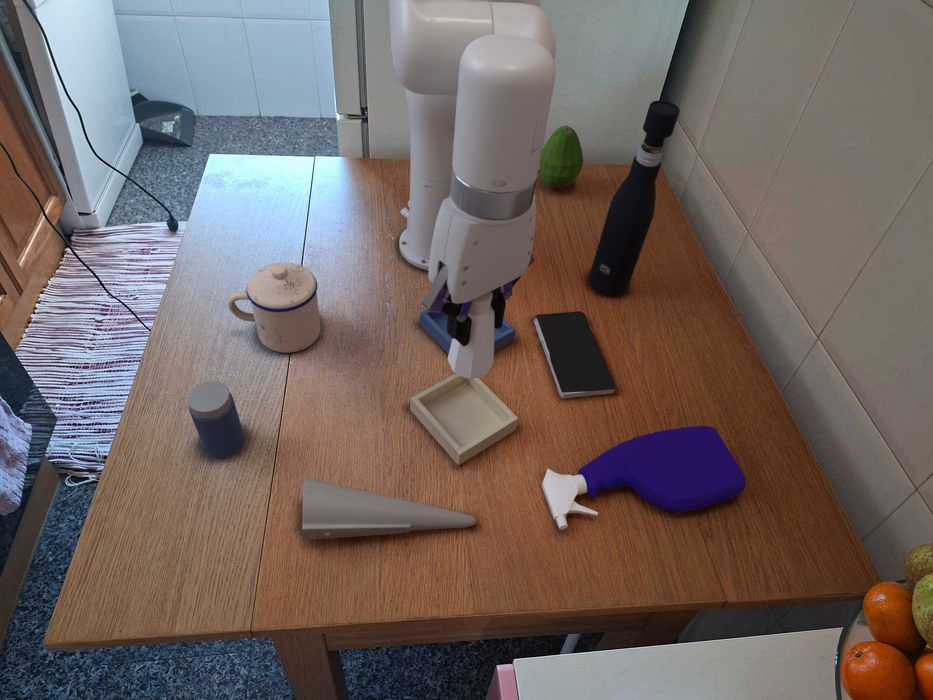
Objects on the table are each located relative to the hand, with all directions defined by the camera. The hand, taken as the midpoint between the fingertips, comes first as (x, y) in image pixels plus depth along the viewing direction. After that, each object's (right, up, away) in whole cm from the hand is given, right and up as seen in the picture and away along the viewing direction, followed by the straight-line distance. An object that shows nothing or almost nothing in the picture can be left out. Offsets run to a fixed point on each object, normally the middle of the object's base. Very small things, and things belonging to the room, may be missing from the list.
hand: (474, 328), depth 71 cm
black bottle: (+22, +8, +33) cm, 41 cm away
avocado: (+16, +29, +51) cm, 61 cm away
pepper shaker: (-30, -14, +8) cm, 34 cm away
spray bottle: (+20, -19, +9) cm, 29 cm away
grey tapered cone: (-10, -21, +3) cm, 24 cm away
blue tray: (-1, 0, +23) cm, 23 cm away
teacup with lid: (-27, 0, +21) cm, 34 cm away
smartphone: (+14, -3, +22) cm, 26 cm away
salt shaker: (0, -4, +4) cm, 6 cm away
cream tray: (-1, -11, +13) cm, 17 cm away
